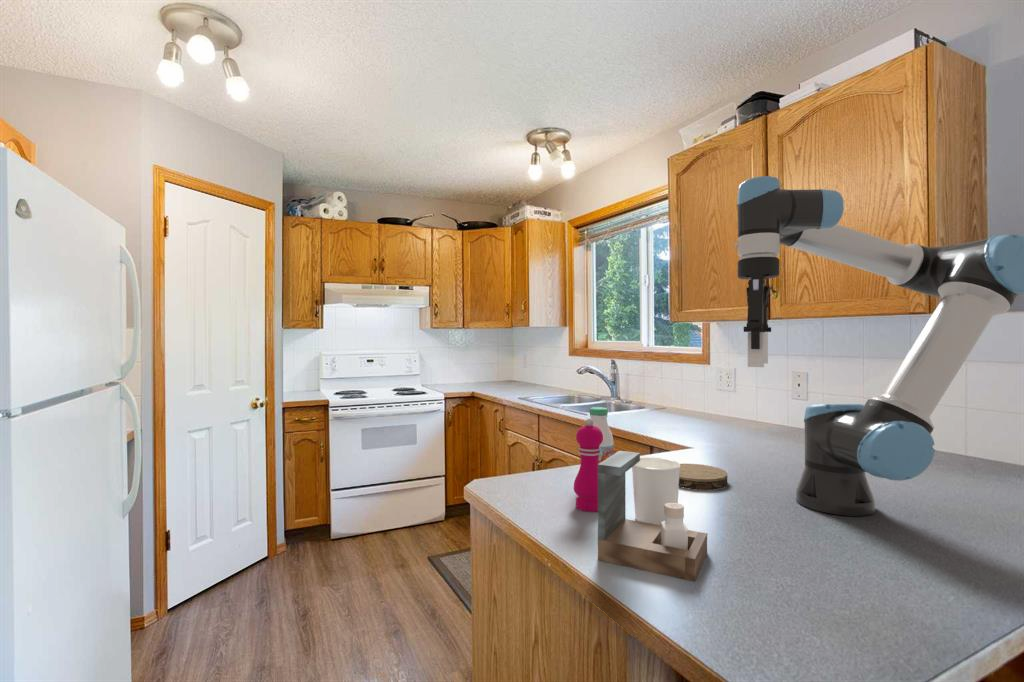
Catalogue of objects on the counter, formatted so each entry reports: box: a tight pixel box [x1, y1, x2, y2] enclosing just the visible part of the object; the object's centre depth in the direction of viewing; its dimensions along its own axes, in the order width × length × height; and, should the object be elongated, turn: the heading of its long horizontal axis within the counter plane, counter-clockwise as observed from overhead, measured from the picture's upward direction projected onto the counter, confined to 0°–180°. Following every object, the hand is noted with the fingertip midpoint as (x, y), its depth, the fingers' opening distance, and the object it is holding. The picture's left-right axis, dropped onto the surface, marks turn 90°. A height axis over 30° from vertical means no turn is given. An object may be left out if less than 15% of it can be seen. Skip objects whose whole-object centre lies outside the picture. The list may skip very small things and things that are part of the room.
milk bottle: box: [589, 406, 615, 463], centre depth 132 cm, size 8×8×20 cm
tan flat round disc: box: [679, 463, 728, 491], centre depth 136 cm, size 16×16×3 cm
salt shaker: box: [661, 502, 689, 550], centre depth 88 cm, size 4×4×10 cm
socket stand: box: [597, 450, 708, 582], centre depth 90 cm, size 16×12×16 cm
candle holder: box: [631, 457, 681, 525], centre depth 107 cm, size 10×10×12 cm
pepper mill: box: [573, 418, 603, 513], centre depth 115 cm, size 7×7×20 cm
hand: (758, 365), depth 102 cm, fingers open, 13 cm apart
